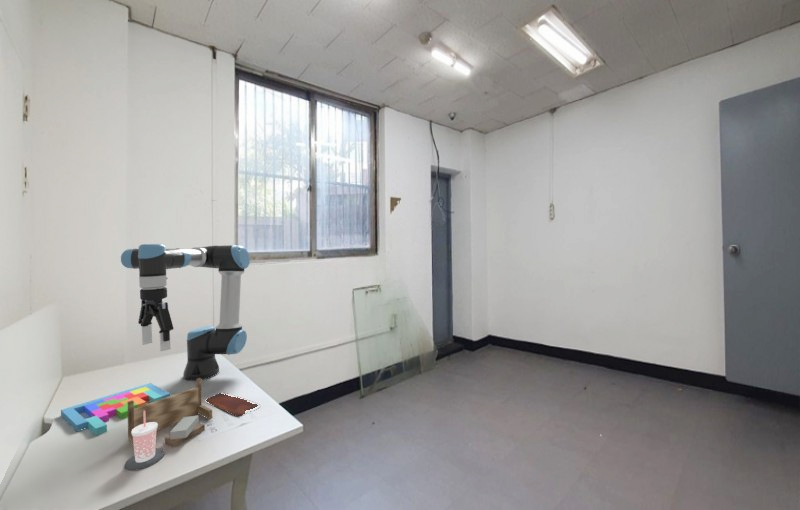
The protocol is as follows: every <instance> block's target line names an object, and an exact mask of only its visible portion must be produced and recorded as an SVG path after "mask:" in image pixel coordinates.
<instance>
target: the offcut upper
mask: <svg viewBox="0 0 800 510" xmlns="http://www.w3.org/2000/svg"><path fill="white" fill-rule="evenodd" d="M199 420H200V419H199V415H194V416H189V417H183V418H182V420H181V421H180V422H177V423H176V425H175V426H174V427H173V428H172V429H171V430H170V432H169V435H170V440H172V439H180V438H187V436H188V435H189V434H190V433H191V431H192V430H193V429H194V428H195V426H196V425H197V424H198V423H200V422H199Z"/></svg>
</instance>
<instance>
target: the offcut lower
mask: <svg viewBox="0 0 800 510" xmlns="http://www.w3.org/2000/svg"><path fill="white" fill-rule="evenodd" d="M205 425H206V424H205V423H201V422H199V423H198V424H197V425H196V426H195V428H194V429H193V430H192V431H191V433H190V434H189V435H188V436H187V438H180V439H172V440H170V434H169V435H167V436H165V437H164V444H165V445H167V446H171V447H174V448H176V447H178V446H180V445H182V444H184V443H185V442H187V441H189V440H190V439H192V438H194V437H195V436H197V435H199V434H201V433H202V432H204V431H206V427H205Z"/></svg>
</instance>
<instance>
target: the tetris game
mask: <svg viewBox="0 0 800 510" xmlns="http://www.w3.org/2000/svg"><path fill="white" fill-rule="evenodd" d="M169 396H171V393H170V392H169V391H166V390H165V389H163V388H161V387H159V386H157V385H155V384H153V383H151V382H149V383H146V384H142V385H139V386H135V387H133V388H129V389H126V390H122V391H120V392H116V393H112V394H109V395H106V396H102V397H99V398H96V399H94V400H89V401H86V402H83V403H79V404H76V405H72V406H69V407H66V408H63V409H61V410H60V417H61V418H62V419H64V421H65V420H66V421H67V422H68V423H69V424H70V425H71V426H72V427H73V428H74V429H75V430H76V431H78V430H81V429H83V430H85V429H84V428H86V429H88V430H90V432H92V433H93V434H94V436H98V435H100V434H104V433H106V432H107V431H108V424H107V423H106V422H108V421H110V418H112V417H114V416H116V417H118V418H120V420H123V419H125V418H128V402H129V401H134V409H135V408H138V407H141V406H143V405H146V404H147V402H149V403H152V402H155V401H158V400H161V399H163V398H166V397H169ZM80 413H85V414H86V415H88V417H87V418H84V416H82V415H81V414H80ZM66 421H65V422H66ZM67 422H66V423H67ZM68 423H67V424H68ZM69 424H68V425H69ZM71 426H70V427H71ZM72 427H71V428H72ZM73 428H72V429H73ZM74 429H73V430H74ZM75 430H74V431H75ZM76 431H75V432H76ZM81 431H82V430H81ZM78 432H79V431H78Z"/></svg>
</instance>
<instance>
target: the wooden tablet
mask: <svg viewBox="0 0 800 510" xmlns="http://www.w3.org/2000/svg"><path fill="white" fill-rule="evenodd" d="M218 393H219V394H218ZM218 393H216V394H214V395H215V396H213V395H212V396H209V397H210V398H209V397H207V398H208V399H207V398H206V399H207V400H206V399H205V400H206V401H207V402H209V403H210V404H212V405H211V406H213V405H214V406H213V407H215V406H216V407H215V408H218V407H219V408H218V409H220V408H221V409H220V410H222V409H223V411H224V410H226V411H228V412H230V413H232V414H234V415H233V416H235V415H236V416H235V417H238V416H241V417H243V416H244V415H243V414H245V411H246V410H250V409H253V408H255V407H257V406H258V405H257V404H258V403H257V404H252V403H250V402H247V400H248V399H247V400H244V399H245V398H243V399H240V398H241V397H240V398H238V397H239V396H237V398H236V397H231V396H228V395H226V394H225V395H224V394H221V392H218ZM210 404H209V405H210ZM226 411H225V412H226ZM228 412H227V413H228ZM230 413H229V414H230ZM232 414H231V415H232ZM242 415H243V416H242ZM245 415H246V414H245Z"/></svg>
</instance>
